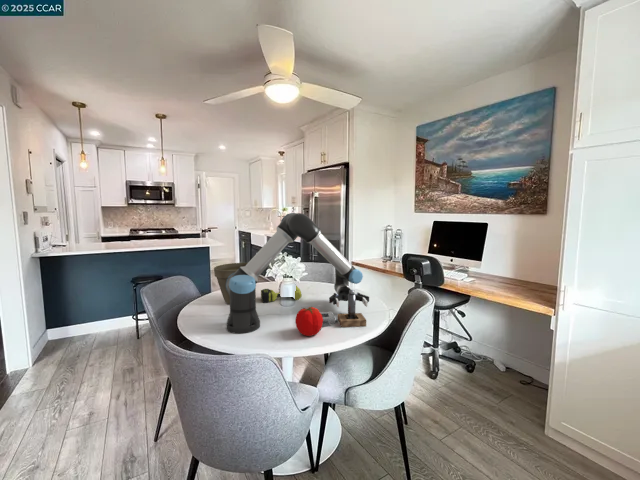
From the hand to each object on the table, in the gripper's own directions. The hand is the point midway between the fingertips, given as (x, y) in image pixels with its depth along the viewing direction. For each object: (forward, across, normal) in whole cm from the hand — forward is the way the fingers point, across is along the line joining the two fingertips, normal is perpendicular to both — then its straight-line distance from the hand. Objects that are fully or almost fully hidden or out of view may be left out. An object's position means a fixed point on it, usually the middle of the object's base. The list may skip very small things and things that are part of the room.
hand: (352, 304), depth 141 cm
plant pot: (-43, +62, -10) cm, 76 cm away
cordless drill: (-52, +36, -10) cm, 64 cm away
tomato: (+8, +21, -10) cm, 25 cm away
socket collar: (-6, +13, -10) cm, 18 cm away
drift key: (+2, +15, -10) cm, 18 cm away
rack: (-2, 0, -10) cm, 10 cm away
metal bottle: (-2, 0, -10) cm, 10 cm away
